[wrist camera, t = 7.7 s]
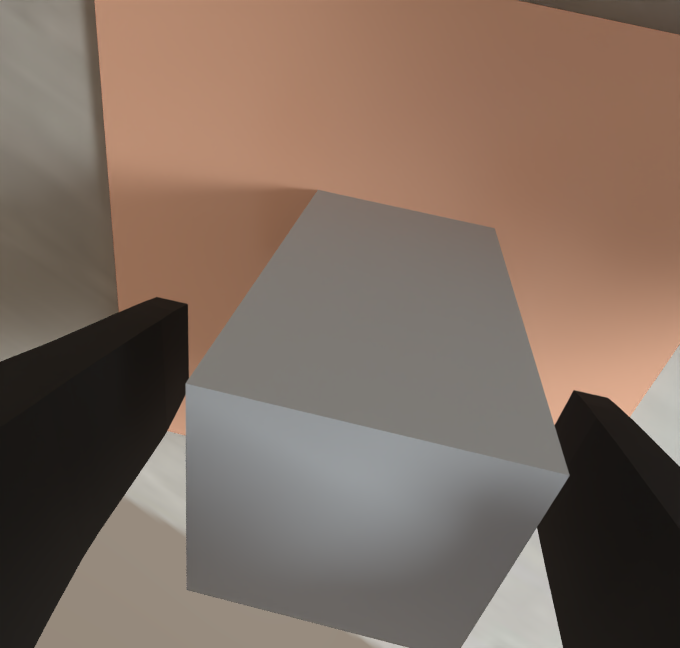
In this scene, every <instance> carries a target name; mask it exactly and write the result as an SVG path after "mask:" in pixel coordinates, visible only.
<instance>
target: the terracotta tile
mask: <svg viewBox="0 0 680 648" xmlns="http://www.w3.org/2000/svg"><path fill="white" fill-rule="evenodd" d="M94 2H95V15H96V28H97V40H98V53H99V66H100V79H101V91H102V104H103V117H104V130H105V142H106V155H107V168H108V181H109V193H110V206H111V219H112V232H113V244H114V257H115V270H116V283H117V295H118V308H119V312H121V311H123V310H125V309H128V308H130V307H132V306H135V305H137V304H139V303H142V302H144V301H147V300H150V299H153V298H155V297H159V298H164V299H168V300H173V301H177V302H182V303H186V304H188V346H189V378H190V376H191V375H192V373H193V372H194V370H195V369H196V367H197V366H198V365H199V363H200V362H201V360H202V359H203V357H204V356H205V354H206V353H207V351H208V350H209V348H210V347H211V346H212V344H213V343H214V341H215V340H216V338H217V337H218V335H219V334H220V332H221V331H222V329H223V328H224V327H225V325H226V324H227V322H228V321H229V319H230V318H231V316H232V315H233V313H234V312H235V310H236V309H237V307H238V306H239V305H240V303H241V302H242V300H243V299H244V297H245V296H246V294H247V293H248V291H249V290H250V288H251V287H252V286H253V284H254V283H255V281H256V280H257V278H258V277H259V275H260V274H261V272H262V271H263V269H264V268H265V267H266V265H267V264H268V262H269V261H270V259H271V258H272V256H273V255H274V253H275V252H276V250H277V249H278V247H279V246H280V245H281V243H282V242H283V240H284V239H285V237H286V236H287V234H288V233H289V231H290V230H291V228H292V227H293V226H294V224H295V223H296V221H297V220H298V218H299V217H300V215H301V214H302V212H303V211H304V209H305V208H306V207H307V205H308V204H309V202H310V201H311V199H312V198H313V196H314V195H315V193H316V192H317V190H321V191H326V192H331V193H335V194H340V195H344V196H349V197H353V198H358V199H363V200H367V201H372V202H376V203H381V204H386V205H390V206H395V207H399V208H404V209H409V210H413V211H418V212H422V213H427V214H431V215H436V216H441V217H445V218H450V219H454V220H459V221H464V222H468V223H473V224H477V225H482V226H487V227H491V228H495V231H496V234H497V237H498V241H499V244H500V247H501V251H502V254H503V257H504V261H505V264H506V267H507V270H508V274H509V277H510V280H511V284H512V287H513V290H514V294H515V297H516V300H517V303H518V307H519V310H520V313H521V317H522V320H523V323H524V327H525V330H526V333H527V336H528V340H529V343H530V346H531V350H532V353H533V356H534V360H535V363H536V366H537V370H538V373H539V376H540V379H541V383H542V386H543V389H544V393H545V396H546V399H547V403H548V406H549V409H550V412H551V416H552V419H553V422H554V425H555V424H556V422H557V420H558V418H559V416H560V414H561V413H562V411H563V409H564V407H565V405H566V403H567V402H568V400H569V398H570V396H571V394H572V392H573V391H574V390H576V391H580V392H585V393H589V394H593V395H598V396H602V397H607V398H609V399H610V400H611V401H612V402H614V403H615V404H616V405H617V406H618V407H619V408H620V409H622V410H623V411H624V412H625V413H626V414H627V415H628V416H629V417H630V416H631V414H632V413H633V411H634V410H635V409H636V407H637V406H638V404H639V403H640V401H641V400H642V398H643V397H644V395H645V394H646V393H647V391H648V390H649V388H650V387H651V385H652V384H653V382H654V381H655V379H656V378H657V377H658V375H659V374H660V372H661V371H662V369H663V368H664V366H665V365H666V363H667V362H668V361H669V359H670V358H671V356H672V355H673V353H674V352H675V350H676V349H677V347H678V346H679V345H680V35H679V34H674V33H669V32H665V31H660V30H655V29H650V28H646V27H641V26H636V25H632V24H627V23H622V22H617V21H613V20H608V19H603V18H599V17H594V16H589V15H584V14H580V13H575V12H570V11H566V10H561V9H556V8H551V7H547V6H542V5H537V4H533V3H528V2H523V1H518V0H94ZM168 431H170V432H174V433H178V434H182V435H186V395H185V397H184V399H183V401H182V403H181V405H180V407H179V409H178V411H177V413H176V415H175V417H174V419H173V421H172V423H171V425H170V427H169V429H168Z"/></svg>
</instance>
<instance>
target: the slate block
mask: <svg viewBox="0 0 680 648" xmlns="http://www.w3.org/2000/svg"><path fill="white" fill-rule="evenodd" d="M569 476H570V475H569V472H568V469H567V465H566V462H565V459H564V455H563V452H562V449H561V445H560V442H559V439H558V436H557V432H556V429H555V426H554V422H553V419H552V416H551V412H550V409H549V406H548V403H547V399H546V396H545V393H544V389H543V386H542V383H541V379H540V376H539V373H538V370H537V366H536V363H535V360H534V356H533V353H532V350H531V346H530V343H529V340H528V336H527V333H526V330H525V327H524V323H523V320H522V317H521V313H520V310H519V307H518V303H517V300H516V297H515V294H514V290H513V287H512V284H511V280H510V277H509V274H508V270H507V267H506V264H505V261H504V257H503V254H502V251H501V247H500V244H499V241H498V237H497V234H496V231H495V228H491V227H487V226H482V225H477V224H473V223H468V222H464V221H459V220H454V219H450V218H445V217H441V216H436V215H431V214H427V213H422V212H418V211H413V210H409V209H404V208H399V207H395V206H390V205H386V204H381V203H376V202H372V201H367V200H363V199H358V198H353V197H349V196H344V195H340V194H335V193H331V192H326V191H321V190H317V192H316V193H315V195H314V196H313V198H312V199H311V201H310V202H309V204H308V205H307V207H306V208H305V209H304V211H303V212H302V214H301V215H300V217H299V218H298V220H297V221H296V223H295V224H294V226H293V227H292V228H291V230H290V231H289V233H288V234H287V236H286V237H285V239H284V240H283V242H282V243H281V245H280V246H279V247H278V249H277V250H276V252H275V253H274V255H273V256H272V258H271V259H270V261H269V262H268V264H267V265H266V267H265V268H264V269H263V271H262V272H261V274H260V275H259V277H258V278H257V280H256V281H255V283H254V284H253V286H252V287H251V288H250V290H249V291H248V293H247V294H246V296H245V297H244V299H243V300H242V302H241V303H240V305H239V306H238V307H237V309H236V310H235V312H234V313H233V315H232V316H231V318H230V319H229V321H228V322H227V324H226V325H225V327H224V328H223V329H222V331H221V332H220V334H219V335H218V337H217V338H216V340H215V341H214V343H213V344H212V346H211V347H210V348H209V350H208V351H207V353H206V354H205V356H204V357H203V359H202V360H201V362H200V363H199V365H198V366H197V367H196V369H195V370H194V372H193V373H192V375H191V376H190V378H189V379H188V381H187V382H186V541H187V542H186V543H187V545H186V550H187V551H186V552H187V553H186V554H187V590H189V591H193V592H197V593H200V594H204V595H208V596H213V597H216V598H220V599H224V600H227V601H231V602H235V603H239V604H243V605H247V606H251V607H254V608H258V609H262V610H266V611H270V612H274V613H278V614H281V615H286V616H290V617H293V618H297V619H301V620H305V621H308V622H312V623H316V624H320V625H324V626H328V627H332V628H335V629H339V630H343V631H347V632H351V633H355V634H359V635H362V636H366V637H370V638H374V639H378V640H382V641H386V642H389V643H393V644H397V645H401V646H405V647H409V648H461V647H462V645H463V643H464V642H465V640H466V639H467V637H468V636H469V634H470V632H471V631H472V629H473V628H474V626H475V624H476V623H477V621H478V620H479V618H480V617H481V615H482V613H483V612H484V610H485V609H486V607H487V605H488V604H489V602H490V601H491V599H492V598H493V596H494V594H495V593H496V591H497V590H498V588H499V586H500V585H501V583H502V582H503V580H504V579H505V577H506V575H507V574H508V572H509V571H510V569H511V567H512V566H513V564H514V563H515V561H516V560H517V558H518V556H519V555H520V553H521V552H522V550H523V548H524V547H525V545H526V544H527V542H528V541H529V539H530V537H531V536H532V534H533V533H534V531H535V530H536V528H537V526H538V525H539V523H540V522H541V520H542V518H543V517H544V515H545V514H546V512H547V511H548V509H549V507H550V506H551V504H552V503H553V501H554V499H555V498H556V496H557V495H558V493H559V492H560V490H561V488H562V487H563V485H564V484H565V482H566V480H567V479H568V477H569Z"/></svg>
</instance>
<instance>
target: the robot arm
mask: <svg viewBox="0 0 680 648" xmlns="http://www.w3.org/2000/svg"><path fill="white" fill-rule="evenodd" d="M188 379H189V346H188V304H186V303H182V302H177V301H173V300H168V299H164V298H159V297H155V298H153V299H150V300H147V301H144V302H142V303H139V304H137V305H135V306H132V307H130V308H128V309H125V310H123V311H121V312H118V313H116V314H114V315H112V316H109V317H107V318H105V319H103V320H100V321H98V322H96V323H93V324H91V325H89V326H87V327H84V328H82V329H80V330H77V331H75V332H73V333H70V334H68V335H66V336H63V337H61V338H59V339H57V340H54V341H52V342H49V343H47V344H44V345H42V346H39V347H37V348H34V349H32V350H29V351H27V352H24V353H21V354H19V355H16V356H14V357H11V358H9V359H6V360H4V361H1V362H0V648H34V647H35V645H36V643H37V641H38V639H39V637H40V636H41V634H42V632H43V629H44V628H45V626H46V624H47V622H48V620H49V618H50V616H51V615H52V613H53V611H54V609H55V607H56V606H57V604H58V602H59V600H60V598H61V596H62V595H63V593H64V591H65V589H66V587H67V586H68V584H69V582H70V580H71V578H72V577H73V575H74V573H75V571H76V569H77V567H78V566H79V564H80V562H81V560H82V558H83V557H84V555H85V554H86V552H87V550H88V548H89V547H90V546H91V544H92V542H93V541H94V539H95V538H96V536H97V534H98V533H99V531H100V530H101V528H102V527H103V526H104V524H105V523H106V521H107V519H108V518H109V517H110V515H111V514H112V512H113V511H114V509H115V508H116V507H117V505H118V504H119V502H120V501H121V499H122V498H123V496H124V495H125V493H126V492H127V490H128V489H129V487H130V486H131V485H132V483H133V482H134V480H135V479H136V477H137V476H138V474H139V473H140V471H141V470H142V468H143V467H144V466H145V464H146V463H147V461H148V460H149V458H150V457H151V455H152V454H153V452H154V451H155V449H156V448H157V446H158V445H159V443H160V442H161V440H162V439H163V437H164V436H165V434H166V432H167V431H168V429H169V427H170V425H171V423H172V421H173V419H174V417H175V415H176V413H177V411H178V409H179V407H180V405H181V403H182V401H183V399H184V397H185V395H186V382H187V381H188ZM554 426H555V429H556V432H557V436H558V439H559V442H560V445H561V449H562V452H563V455H564V459H565V462H566V465H567V469H568V472H569V475H570V476H569V477H568V479H567V480H566V482H565V484H564V485H563V487H562V488H561V490H560V492H559V493H558V495H557V496H556V498H555V499H554V501H553V503H552V504H551V506H550V507H549V509H548V511H547V512H546V514H545V515H544V517H543V518H542V520H541V522H540V523H539V525H538V526H537V529H538V534H539V539H540V544H541V548H542V553H543V558H544V563H545V567H546V572H547V576H548V581H549V585H550V590H551V594H552V599H553V603H554V608H555V613H556V617H557V622H558V626H559V631H560V635H561V640H562V644H563V648H680V467H679V466H678V465H677V464H676V463H675V462H674V461H673V460H672V459H671V458H670V457H669V456H668V455H667V454H666V453H665V452H664V451H663V450H662V449H661V448H660V447H659V446H658V445H657V444H656V443H655V442H654V441H653V440H652V439H651V438H650V437H649V436H648V435H647V434H646V433H645V432H644V431H643V430H642V429H641V428H640V427H639V426H638V425H637V424H636V423H635V422H634V421H633V420H632V419H631V418H630V417H629V416H628V415H627V414H626V413H625V412H624V411H623V410H622V409H620V408H619V407H618V406H617V405H616V404H615V403H614V402H612V401H611V400H610V399H609V398H607V397H602V396H598V395H593V394H589V393H585V392H580V391H576V390H574V391H573V392H572V394H571V396H570V398H569V400H568V402H567V403H566V405H565V407H564V409H563V411H562V413H561V414H560V416H559V418H558V420H557V422H556V424H555V425H554Z"/></svg>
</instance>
